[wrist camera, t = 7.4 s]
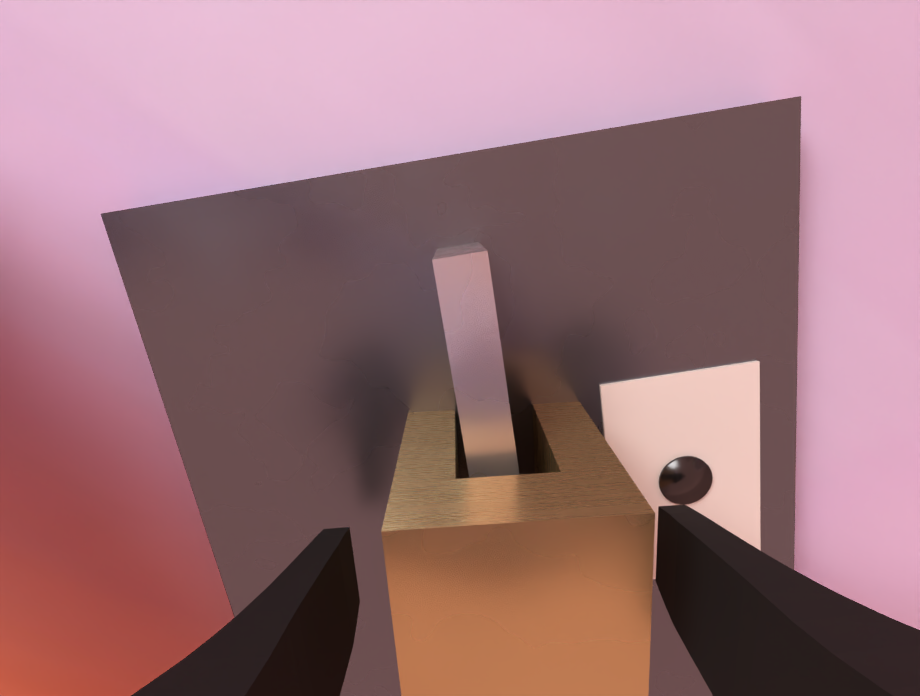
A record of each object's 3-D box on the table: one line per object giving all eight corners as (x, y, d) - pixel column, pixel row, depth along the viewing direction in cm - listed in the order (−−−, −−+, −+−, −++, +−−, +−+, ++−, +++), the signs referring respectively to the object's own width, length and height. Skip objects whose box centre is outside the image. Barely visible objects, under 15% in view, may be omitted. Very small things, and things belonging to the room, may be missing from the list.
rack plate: (313, 796, 18) (274, 961, 14) (128, 214, 12) (-18, 213, 9) (771, 735, 17) (864, 886, 13) (773, 105, 12) (923, 54, 8)
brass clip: (424, 577, 14) (410, 765, 9) (408, 413, 13) (381, 531, 8) (580, 567, 14) (646, 749, 9) (579, 401, 13) (655, 513, 8)
